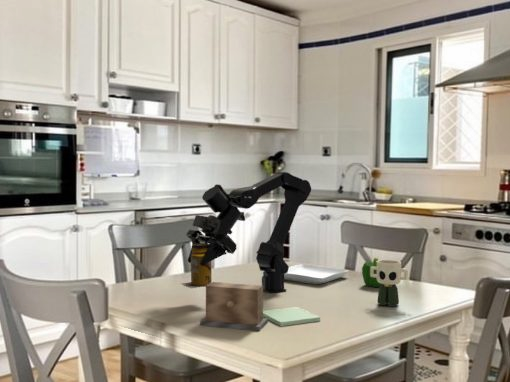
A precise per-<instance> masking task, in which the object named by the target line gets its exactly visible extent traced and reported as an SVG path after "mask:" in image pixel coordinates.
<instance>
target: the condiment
mask: <svg viewBox="0 0 510 382" xmlns="http://www.w3.org/2000/svg"><path fill="white" fill-rule="evenodd" d="M191 248H192V254H191V263H190V282H181V283H179V284H180V285H182V286H184V287H186V288H189V289H197V288H202V287H203V288H206V286H207V285H208V284H210V283H212V282H213V281H212V278H213V277H212V275H213V274H212V261H210V262H209V263H207V264H205V265H203V266H201V265H200V262H201V260H202V258H203V256H204V255H205V253H206V252H207V250H208V248H209V243H208V244H206V243H198V244H193V245H192V244H191Z"/></svg>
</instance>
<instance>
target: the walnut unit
mask: <svg viewBox="0 0 510 382" xmlns="http://www.w3.org/2000/svg"><path fill="white" fill-rule="evenodd" d="M263 311H264V290H263V286H262V285H257V284H244V283H243V284H242V283H230V282H217V281H211V283H210V284H208V285H207V286H206V287H205V317H204V318H202V319H201V320H200V321H199V326H203V327H204V326H205V327H216V328H223V329H224V328H225V329H236V330H245V331H247V330H248V331H255V332H260V331H261V330H262V329H263V328H264V327H265V326H266V325H267V324H268V323H269V320H268V319H266V318H265V317H263Z"/></svg>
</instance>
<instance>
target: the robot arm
mask: <svg viewBox="0 0 510 382" xmlns="http://www.w3.org/2000/svg"><path fill="white" fill-rule="evenodd" d="M279 188H281V189H283V190H284V192H283V196H284V204H283V206H282V207H281V211H280V213H279V216H278V217H277V220H276V222H275V225H274V228H273V230H272V232H271V235H270V238H269V239H268V240H267V241H265V242H264V241H261V243H260V244H259V247H258V250H257V251H256V256H255V257H256V262H257V265H258V267H259V268H258V269H259V271H261V272H262V276H261V286H263V292H264V291H265V292H267V293H268V294H270V293H281V292H287V289H286V288H285V279H284V274H285V273H287V272H288V269H289V267H290V266H289V265H288V263H287V262H286V261H285V260H284V258H285V249H284V244H285V242H286V240H287V237H288V235H289V232H290V229H291V228H292V227H291V226H292V224H293V222H294V219H295V217H296V214H297V212H298V210H299V208H300V206H301V205H303V204H304V203H305V202H306V201H307V199H308V198H309V196H310V194H311V191H312V186H311V183H310V182H309V181H308V180H307V179H303V178H300V177H298V176H295V175H292V174H291V173H290V172H289V171H277V172H274V174H272V175H270V176H268V177H265V178H264V179H262V180H260V181H258V182H257V183H254V184H252V185H250V186H245V187H239V188H236V189H232V190H231V191H230V192H229V193H227V192H226V190H224V187H223V186H222V185H221V184H215V185H214V186H212V187H210V188H209V189H207V190H206V191H204V193H203V194H202V200H203V201H204V203H205V204H207V206H208V207H209V208H210V209H211V210H212V212H213V213H218V214H217V216H216V215H211V214H210V215H208V216H204V215H199V214H195V216H194V218H193V219H194V220H193V222H192V226H193V227H197V228H198V229H189V230H188V231H187V233H186V234H185V235H186V236H185V237H187V238H188V240H190V241H191V246H192V245H193V244H198V243H206V244H209V248H208V250H207V252H206V253H205V255H204V256H203V258H202V260H201V262H200V265H201V266H203V265H205V264H207V263H209V262H210V261H211V262H212V261H214V260H216V259H218V258H220V257H221V256H224V255H227V254H231V255H233V254H235V253H236V250H237V243H235V241H234V240H233V239H232V237H230V235H232V233H233V231H232V228H233V227H234V226H235V224H236V223H237V221H243V222H245V221H246V217H245V211H240V210H239V209H245V210H248V209H250V208H251V207H254V206H255V205H256V204H257V203H258V201H259V200H260V198H261V197H264V196H266V194H269V193H271V192H272V191H274V190H278V189H279ZM199 229H201V231H200V230H199ZM191 254H192V247H191V248H190V251H189V255H188V257H187V262H188V263H189V264H191Z"/></svg>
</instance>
